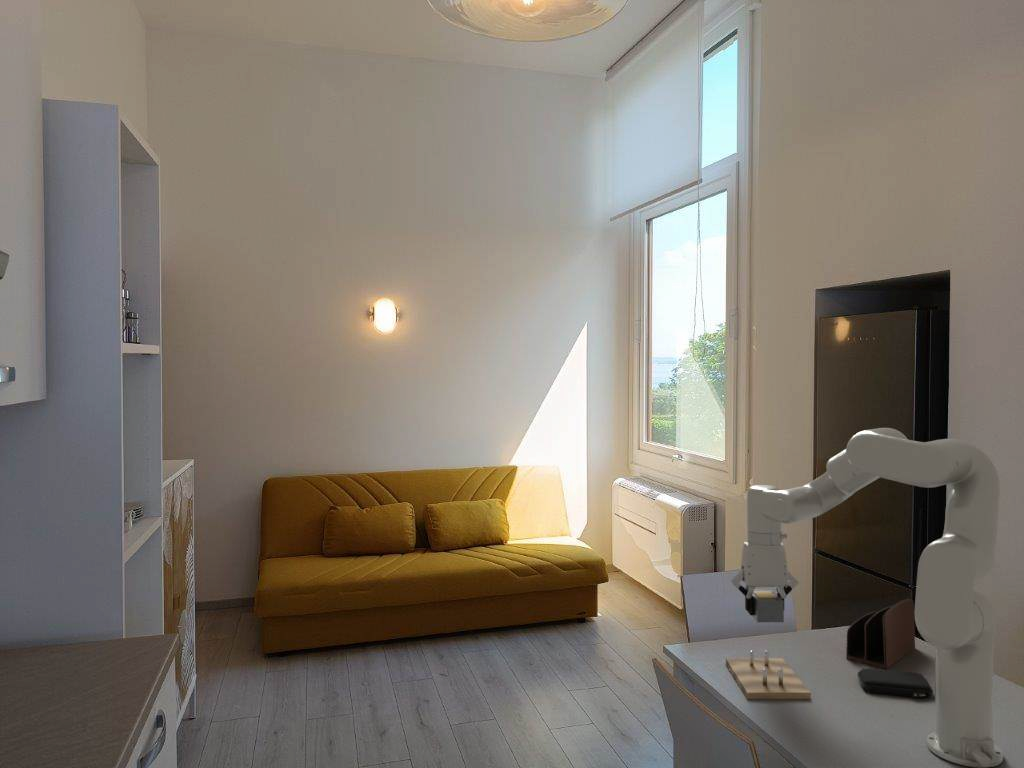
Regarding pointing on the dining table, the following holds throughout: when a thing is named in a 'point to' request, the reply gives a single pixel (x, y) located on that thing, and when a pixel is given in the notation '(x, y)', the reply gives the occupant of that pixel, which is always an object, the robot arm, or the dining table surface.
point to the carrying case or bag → (895, 683)
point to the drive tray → (767, 678)
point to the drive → (767, 606)
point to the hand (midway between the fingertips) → (764, 612)
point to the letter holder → (882, 635)
